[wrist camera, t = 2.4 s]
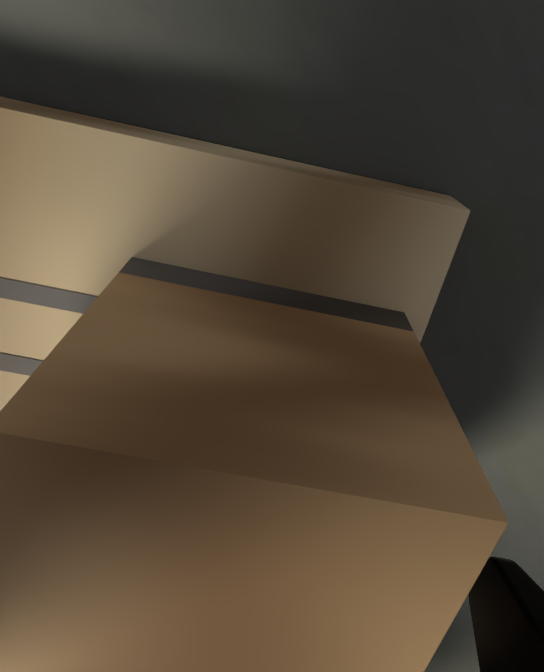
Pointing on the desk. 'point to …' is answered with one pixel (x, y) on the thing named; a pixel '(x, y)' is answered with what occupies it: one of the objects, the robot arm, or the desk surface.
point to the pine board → (194, 225)
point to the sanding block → (234, 487)
